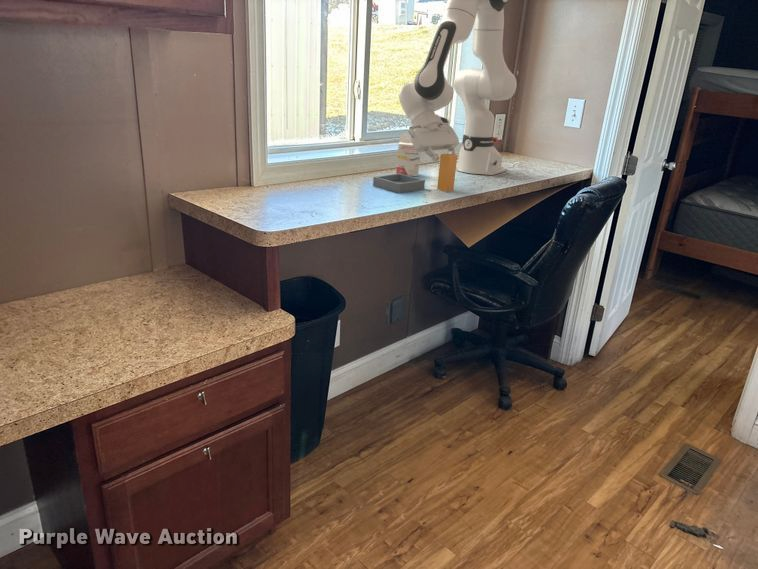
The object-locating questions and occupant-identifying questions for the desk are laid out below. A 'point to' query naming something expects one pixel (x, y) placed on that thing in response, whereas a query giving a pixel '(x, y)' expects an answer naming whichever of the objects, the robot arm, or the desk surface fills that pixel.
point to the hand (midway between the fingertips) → (445, 158)
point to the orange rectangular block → (447, 172)
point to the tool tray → (398, 183)
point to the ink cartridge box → (407, 157)
